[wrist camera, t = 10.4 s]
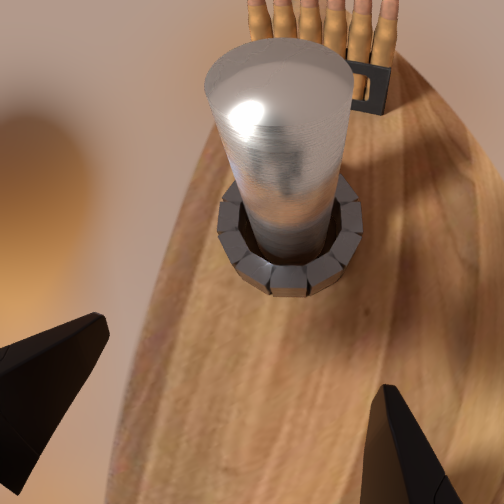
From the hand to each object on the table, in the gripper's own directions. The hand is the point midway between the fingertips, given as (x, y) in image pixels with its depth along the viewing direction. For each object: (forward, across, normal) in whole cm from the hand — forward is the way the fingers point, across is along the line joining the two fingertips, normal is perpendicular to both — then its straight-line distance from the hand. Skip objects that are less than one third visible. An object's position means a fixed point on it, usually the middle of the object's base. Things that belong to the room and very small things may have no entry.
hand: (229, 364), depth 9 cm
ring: (+12, 0, +1) cm, 12 cm away
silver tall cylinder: (+12, 0, +1) cm, 12 cm away
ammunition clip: (+21, 0, -8) cm, 23 cm away
